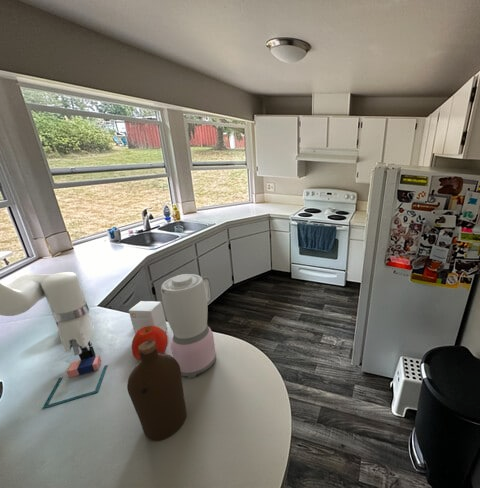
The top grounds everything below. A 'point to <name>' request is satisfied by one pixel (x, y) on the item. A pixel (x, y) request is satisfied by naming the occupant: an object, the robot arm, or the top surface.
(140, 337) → the apple
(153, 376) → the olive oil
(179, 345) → the blender
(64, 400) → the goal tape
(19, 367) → the top surface
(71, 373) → the eraser
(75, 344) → the robot arm
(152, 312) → the small box
